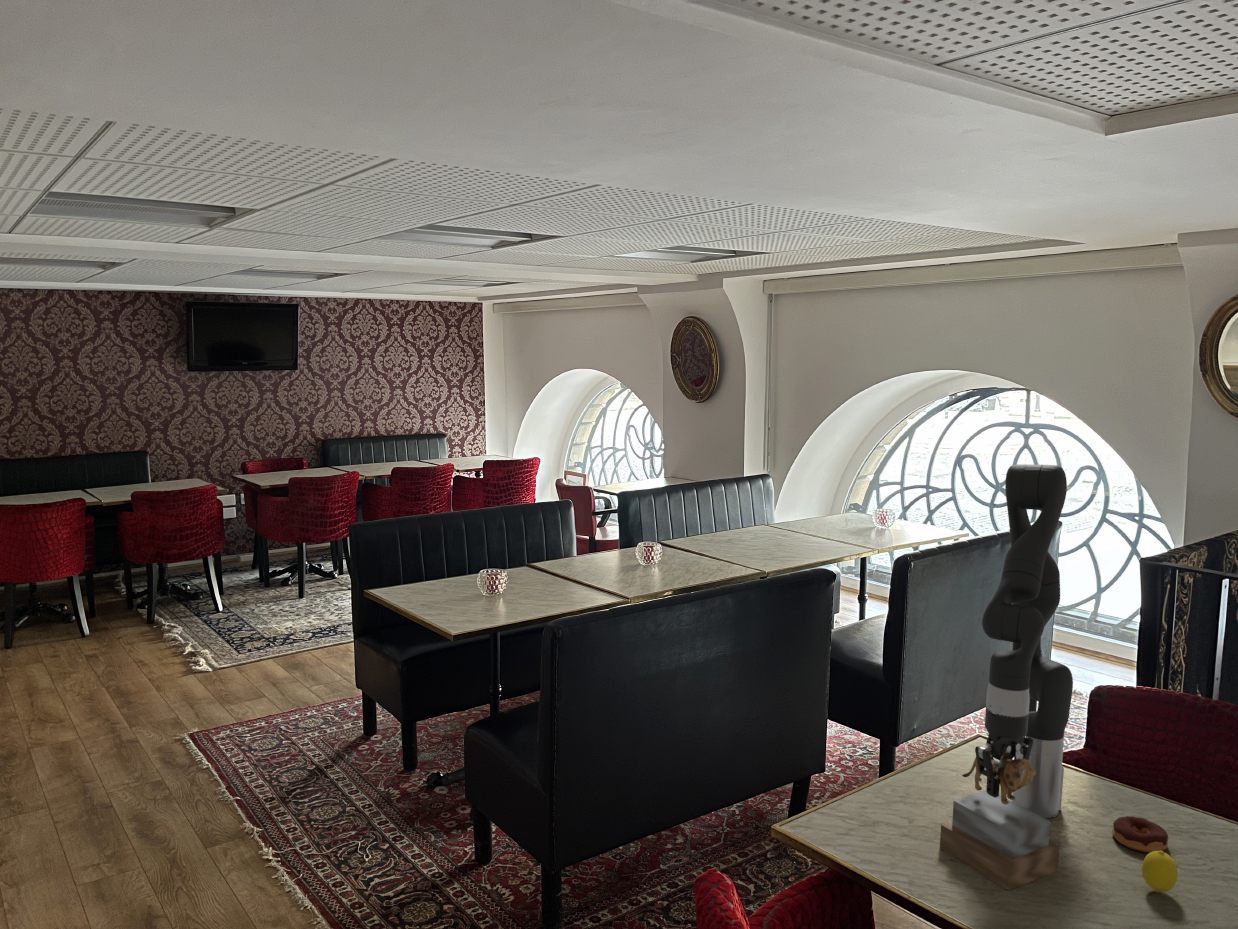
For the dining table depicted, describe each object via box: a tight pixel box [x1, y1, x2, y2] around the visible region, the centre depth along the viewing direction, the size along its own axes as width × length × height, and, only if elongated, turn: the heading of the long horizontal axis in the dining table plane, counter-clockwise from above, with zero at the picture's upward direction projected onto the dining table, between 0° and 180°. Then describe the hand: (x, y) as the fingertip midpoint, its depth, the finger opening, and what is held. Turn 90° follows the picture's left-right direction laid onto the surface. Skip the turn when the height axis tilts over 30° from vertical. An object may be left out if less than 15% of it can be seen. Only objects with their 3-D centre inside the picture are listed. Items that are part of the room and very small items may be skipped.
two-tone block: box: [939, 789, 1061, 891], centre depth 175 cm, size 14×16×10 cm
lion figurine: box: [961, 757, 1036, 805], centre depth 175 cm, size 15×5×9 cm, turn 35°
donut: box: [1111, 815, 1169, 853], centre depth 183 cm, size 10×10×4 cm
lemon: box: [1141, 850, 1178, 894], centre depth 165 cm, size 6×6×8 cm
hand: (1001, 792), depth 174 cm, fingers closed on lion figurine, 4 cm apart
